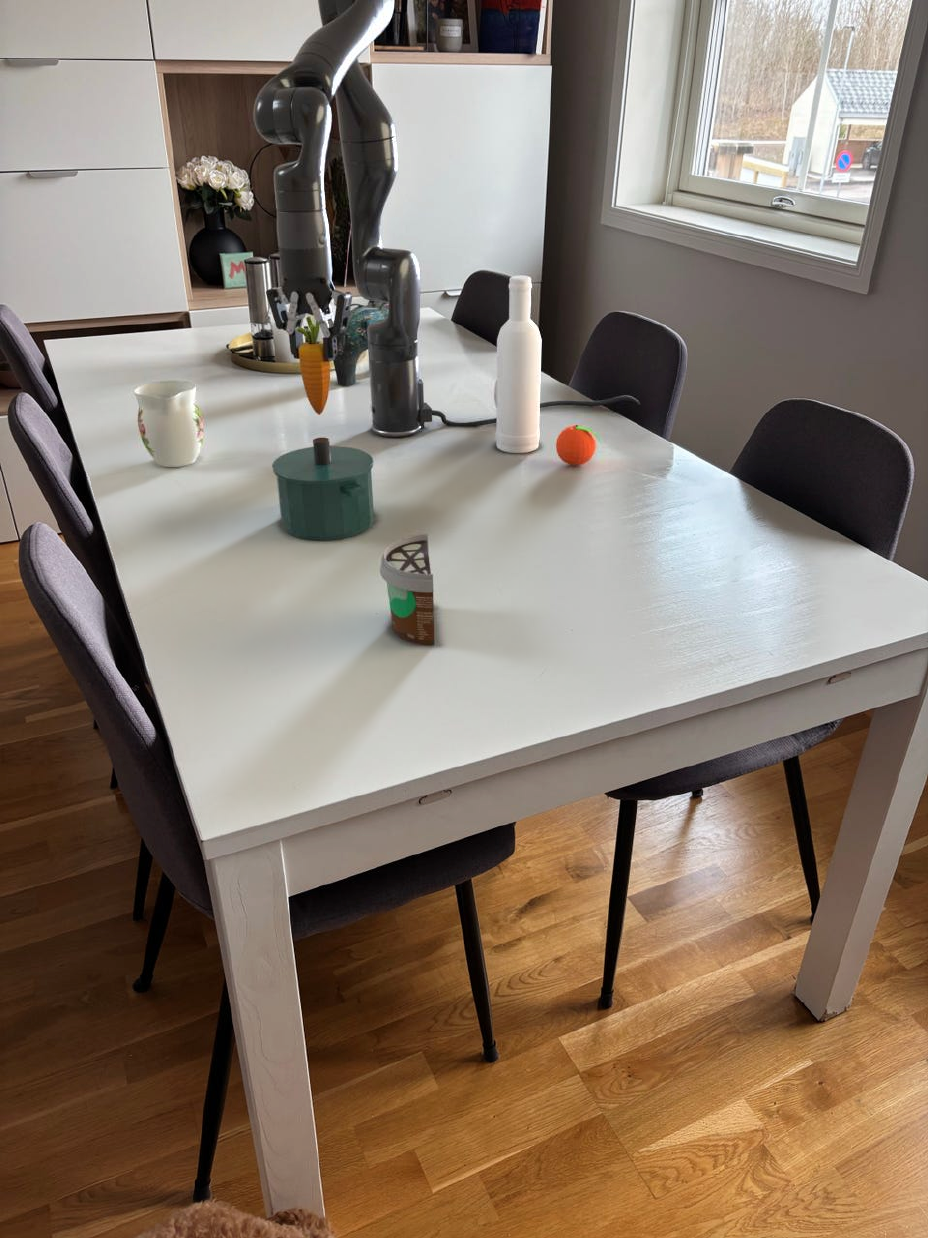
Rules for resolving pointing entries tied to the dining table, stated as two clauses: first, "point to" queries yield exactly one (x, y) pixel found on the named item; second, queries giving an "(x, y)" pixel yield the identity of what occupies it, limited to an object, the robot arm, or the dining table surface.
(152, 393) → the pitcher
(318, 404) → the carrot
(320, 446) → the pot lid
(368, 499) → the pot
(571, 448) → the clementine
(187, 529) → the dining table surface
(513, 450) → the bottle
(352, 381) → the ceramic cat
